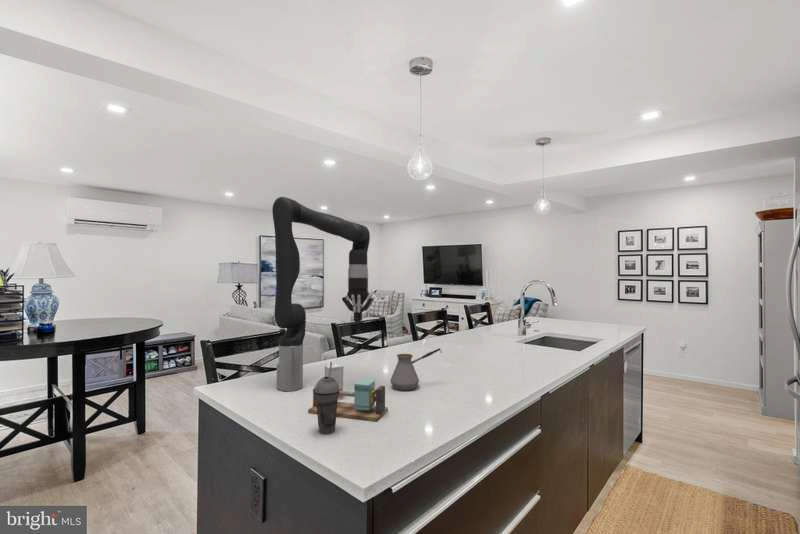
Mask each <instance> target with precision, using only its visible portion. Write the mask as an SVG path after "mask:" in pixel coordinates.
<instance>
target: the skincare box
mask: <svg viewBox="0 0 800 534" xmlns="http://www.w3.org/2000/svg"><path fill="white" fill-rule="evenodd" d="M329 369H330V364H326V365H324V377H329ZM330 377H332V378H334V379H335V380H336V381H337V383H338V386H339V390H340V391H344V365H343V364H341V363H335V364H333V363H332V367H331V375H330ZM343 399H344V396H342V395H339V396H338V400H343Z"/></svg>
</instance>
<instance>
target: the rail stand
mask: <svg viewBox="0 0 800 534" xmlns="http://www.w3.org/2000/svg"><path fill="white" fill-rule="evenodd" d="M314 391H315V387H314V388H312V407H310V408H308V411H307V414H310V415H317V403H316V398H315V393H314ZM339 395H342V396H343V397H352V398H354V391H348V390H343V391H339ZM374 402H375V405H374V406H373V407H372V408H371V409H370V410H361V409H354V403H352V402H344V401H337V413H336V418H343V419H349V420H350V419H351V420H359V421H365V422H366V421H367V422H375V423H378V422H379V421H380V420H381V419H382V418H383V417H384V416H385V415H386V413H388V412H389V408H388V406H387V407H386V386H385V385H379V386H378V387H377V388H375V389H373V390H372V391H371V392H370V404H373V403H374Z"/></svg>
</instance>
